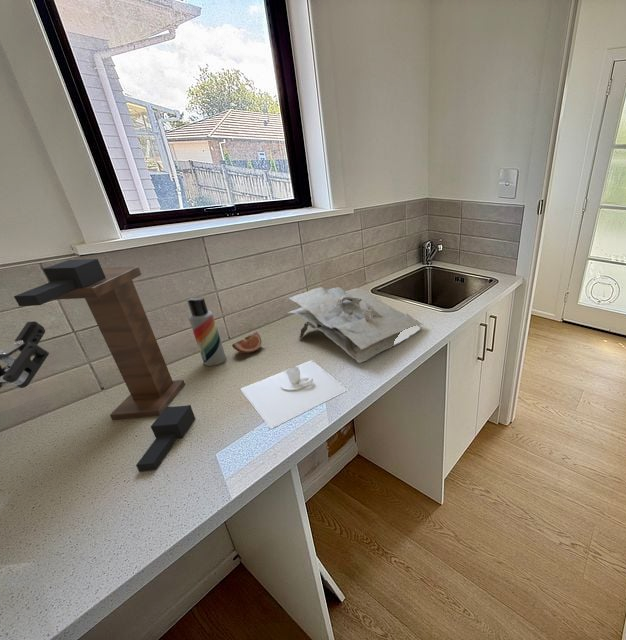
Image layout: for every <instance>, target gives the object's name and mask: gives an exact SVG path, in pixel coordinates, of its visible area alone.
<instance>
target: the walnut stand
mask: <svg viewBox="0 0 626 640" xmlns="http://www.w3.org/2000/svg"><path fill="white" fill-rule="evenodd" d="M101 268H102V270H103V272H104V275H105V277H106V278H105V279H103V280H100V281H98V282H96V283H94V284H92V285H90V286H87V287H85V288H77V289H75V290H73V291H71V292H69V293H66V294H64V295H62V296H60V297H58V298H55V299H53V300H52V301H54V300H55V301H56V300H77V299H78V300H79V299H80V300H81V299H84V300H85V302H86V305H87V306H88V308H89V310H90V312H91V315H92V316H93V318H94V320H95V323H96V325H97V327H98V329H99V332H100V333H101V335H102V337H103V340H104V341H105V343H106V346H107V348H108V349H109V352H110V354H111V356H112V358H113V360H114V363H115V364H116V367H117V368H118V371H119V373H120V375H121V378H122V379H123V381H124V383H125V386H126V387H127V389H128V391H129V395H128V396H127V397H126V398H125V399H124V400H123V401H122V402H121V403H120V404H119V405H118V406H117V407H116V408H115V409H114V410H113V411H112V412H110V414H109V416H110V418H111V420H113V421H114V420H116V421H117V420H125V419H136V418H146V417H147V418H148V417H157V416H158V417H159V415H160V414H161V413H162V412H163V411H164V409H165V408H166V407H169V406H170V404H171V403H172V402H173V401H174V399H175V398H176V397H177V395H179V393H180V392H181V391H182V389H183V388H184V387H185V386H186V382H185V379H176V380H173V378H172V376H171V374H170V371H169V368H168V366H167V363H166V361H165V358H164V356H163V353H162V350H161V348H160V346H159V344H158V341H157V339H156V336H155V334H154V331H153V328H152V326H151V324H150V321H149V318H148V316H147V314H146V311H145V309H144V307H143V304H142V301H141V299H140V296H139V293H138V291H137V289H136V286H135V284H134V281H133V280H134V279H136V278H138V277H140V276H142V272H141V270H140V267H139V266H137V265H136V266H111V267H101Z"/></svg>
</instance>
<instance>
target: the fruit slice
mask: <svg viewBox="0 0 626 640" xmlns="http://www.w3.org/2000/svg"><path fill="white" fill-rule="evenodd" d="M261 345H262V337H261V335H260V334H259V333H258V332H257V331H256V332H254V333H252V334H250V335H247V336H246V337H244V338H243V339H241V340H238V341H236V342H234V343H233V344H232V345H231V347H232V348H233V349H234V350H235V351H237V352H239V353H243V354H250V353H251V354H252V353H254V352H256V351H258V350H259V349H260V347H261Z"/></svg>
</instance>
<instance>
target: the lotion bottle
mask: <svg viewBox="0 0 626 640" xmlns="http://www.w3.org/2000/svg"><path fill="white" fill-rule="evenodd" d="M187 305H188V308H189V311H190V315H189V316H188V321H189V325H190V327H191V331H192V333H193V335H194V338H195V341H196V344H197V348H198V351H199V353H200V356H201V359H202V361H203V364H204V365H206V366H208V367H213V366H217V365H220V364H223V363H224V362H225V361H226V359H227V358H226V357H227V356H226V352H225V350H224V346H223V343H222V340H221V339H222V338H221V336H220V333H219V332H220V331H219V330H218V327H217V323H216V319H215V316H214V313H213V312H212V311H211V310H209V309H208V306H207V304H206V300H205V298H204V297H191V298H188V299H187Z"/></svg>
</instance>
